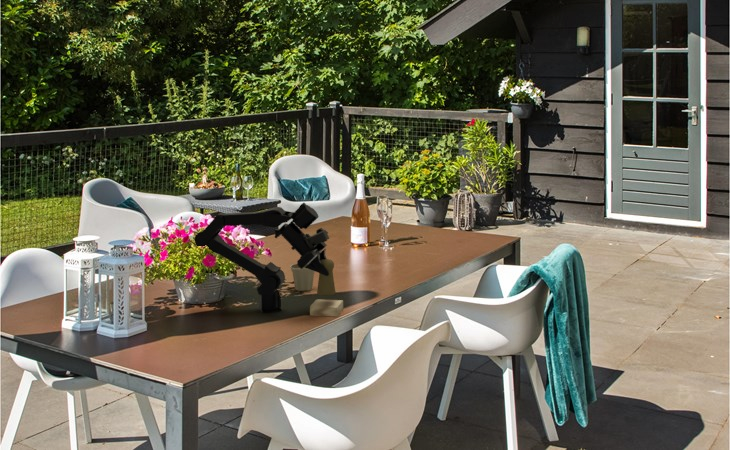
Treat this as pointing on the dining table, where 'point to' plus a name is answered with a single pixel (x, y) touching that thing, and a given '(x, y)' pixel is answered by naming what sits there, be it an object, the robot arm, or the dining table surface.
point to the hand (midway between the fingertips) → (330, 273)
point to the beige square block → (326, 308)
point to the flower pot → (302, 277)
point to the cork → (326, 279)
